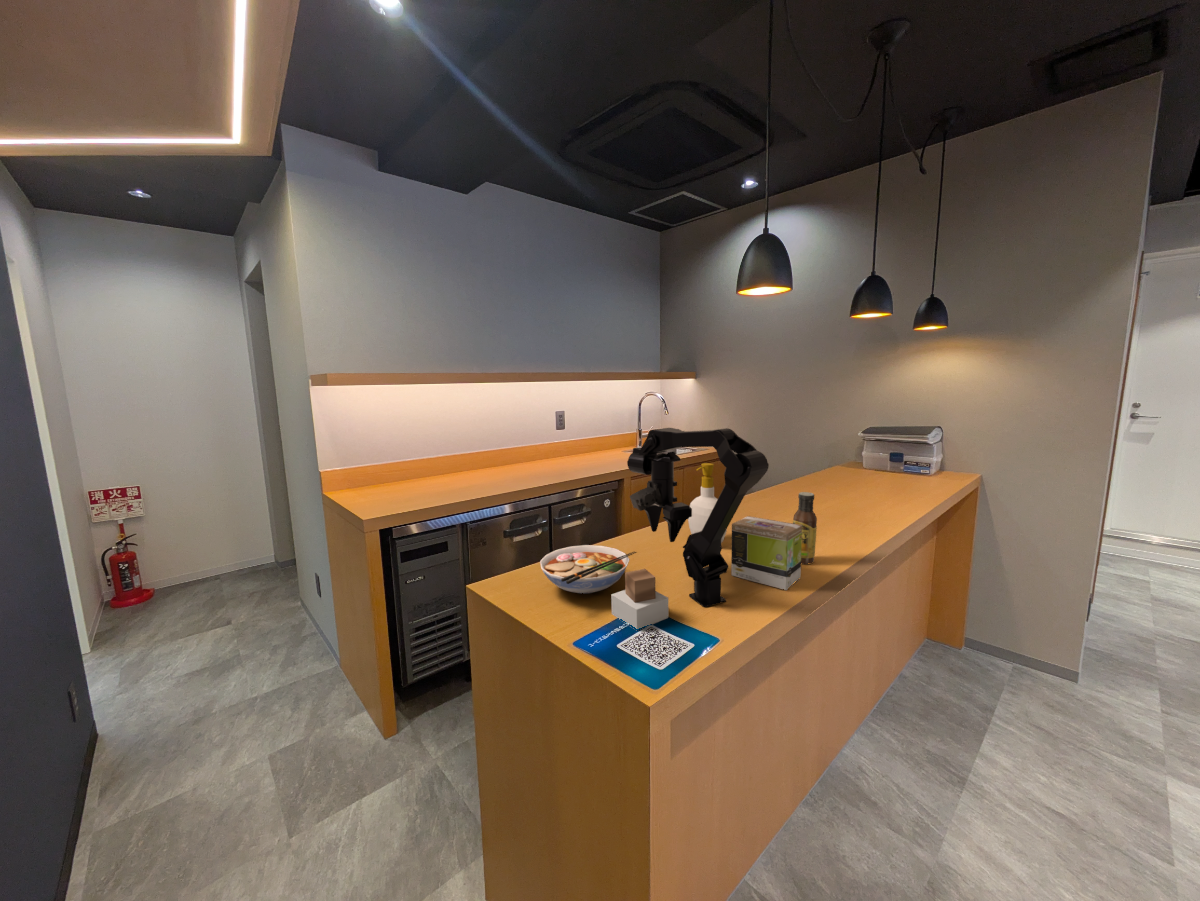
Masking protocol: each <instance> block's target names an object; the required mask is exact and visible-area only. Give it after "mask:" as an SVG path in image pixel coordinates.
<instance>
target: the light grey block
mask: <svg viewBox="0 0 1200 901" xmlns="http://www.w3.org/2000/svg"><path fill="white" fill-rule="evenodd" d="M610 595H611V598H610V600H611V602H610V603H611V615H613V616H614V617H616V618H617V619H618V618H619V619H618V620H620V619H622V620H623V621H625V622H627V623H629V624H630V625H632V626H633V627H635V628H636V629H639V628H642V627H644V626H647V625H650V624H652V625H654V624H657V623H659V622H661V621H665V620H666V619H668V618H669V596H666V595H664V594H662V593H660V592H659V591H656V599H651V600H646V601H642V602H637V603H635V602H634V601H633V600H632V599H631V598H630V597H629V596H628V595H627V594H626V592H625V589H623V590H621V591H617V592H615V593H612V594H610ZM623 621H622V622H623ZM625 622H624V623H625ZM650 626H651V625H650ZM647 627H648V626H647ZM642 629H643V628H642Z"/></svg>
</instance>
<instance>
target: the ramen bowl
mask: <svg viewBox="0 0 1200 901" xmlns="http://www.w3.org/2000/svg"><path fill="white" fill-rule="evenodd" d="M636 553H638V552H637V551H632V552H629V553H625V552H623V551H622V550H620V549H618V548H613V547H609V546H606V545H593V544H590V545H589V544H582V545H573V546H572V545H571V546H567V547H563V548H559V549H556V550H553V551H551V552H549V553H547V554H546V555H544V556H543V557H542V559H540V561H539V564H540V568H541V570H542V572H543V574H544V575H545V576H546V577H547V579H548V580H549V581H550V582H552V584H554V585H555V586H556V587H558V588H559V589H561V590H563V591H567V592H571V593H577V594H582V593H583V595H584V594H586V595H587V594H592V593H597V592H600V591H603V590H606V589H608V588H610V587H611V586H612V585H614V584H616V583H617V582H619V580H620V579H621V577H622V576H623V575H624V574H625V571H626V570H627V568H628V566H629V562H630V560H631V559H630V558H629V557H630V556H632V555H634V554H636Z"/></svg>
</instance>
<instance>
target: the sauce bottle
mask: <svg viewBox="0 0 1200 901" xmlns="http://www.w3.org/2000/svg"><path fill="white" fill-rule="evenodd" d="M797 496H798V509H797V510H796V511H795V513H794V514H793V520H792V523H793V524H799V525H802V543H801V563H802V564H801V565H809V564H808V563H812V562H813V563H814V561H815V557H816V556H815V555H816V542H817V529H818V528H817V523H818V522H817V521H818V518H817V516H816V513H815V512H814V500H815V494H814V493H813V492H809V491H801V492H799V493H798V495H797ZM813 563H812V564H813Z"/></svg>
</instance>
